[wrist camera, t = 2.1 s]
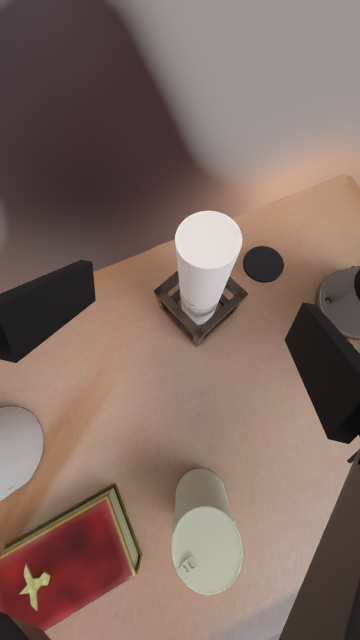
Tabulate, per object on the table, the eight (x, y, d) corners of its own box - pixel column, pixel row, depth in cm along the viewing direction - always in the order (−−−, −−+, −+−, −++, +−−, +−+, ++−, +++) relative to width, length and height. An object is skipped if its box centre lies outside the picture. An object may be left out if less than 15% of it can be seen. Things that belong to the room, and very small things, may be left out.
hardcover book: (142, 556, 36) (136, 579, 32) (25, 627, 34) (3, 661, 30) (115, 483, 39) (106, 496, 35) (6, 544, 37) (-17, 566, 33)
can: (165, 490, 38) (155, 540, 27) (205, 456, 39) (212, 491, 28) (196, 541, 36) (200, 620, 24) (237, 504, 37) (260, 563, 26)
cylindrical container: (192, 288, 48) (197, 200, 24) (219, 304, 47) (254, 228, 22) (175, 314, 46) (162, 248, 22) (203, 331, 45) (220, 281, 21)
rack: (235, 310, 46) (248, 293, 36) (196, 346, 44) (199, 339, 35) (198, 275, 49) (201, 250, 39) (160, 308, 47) (153, 290, 37)
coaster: (290, 265, 48) (292, 263, 48) (264, 290, 47) (265, 289, 47) (261, 240, 50) (262, 239, 50) (235, 264, 49) (235, 262, 48)
